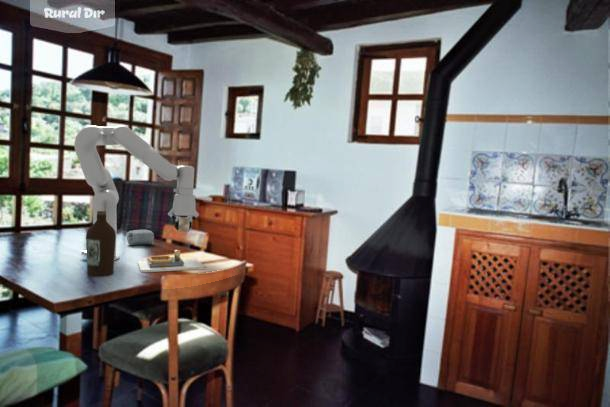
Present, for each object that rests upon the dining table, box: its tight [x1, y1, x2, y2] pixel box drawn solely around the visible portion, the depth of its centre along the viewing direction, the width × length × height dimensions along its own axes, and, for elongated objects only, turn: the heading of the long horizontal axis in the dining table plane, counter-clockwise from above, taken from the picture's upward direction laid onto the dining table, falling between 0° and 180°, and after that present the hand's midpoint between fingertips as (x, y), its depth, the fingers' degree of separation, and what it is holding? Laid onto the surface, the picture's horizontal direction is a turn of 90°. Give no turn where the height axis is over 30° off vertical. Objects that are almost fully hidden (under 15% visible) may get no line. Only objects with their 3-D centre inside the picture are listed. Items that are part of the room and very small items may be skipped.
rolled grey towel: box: [126, 229, 155, 246], centre depth 227 cm, size 14×10×10 cm
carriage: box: [146, 249, 184, 267], centre depth 185 cm, size 14×10×6 cm
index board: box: [136, 258, 205, 273], centre depth 186 cm, size 26×16×1 cm, turn 116°
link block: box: [176, 217, 190, 233], centre depth 202 cm, size 5×5×6 cm
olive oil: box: [85, 211, 117, 277], centre depth 167 cm, size 11×11×25 cm
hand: (182, 229), depth 202 cm, fingers closed on link block, 4 cm apart
